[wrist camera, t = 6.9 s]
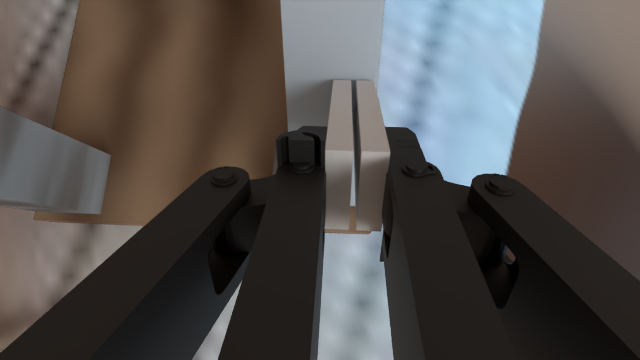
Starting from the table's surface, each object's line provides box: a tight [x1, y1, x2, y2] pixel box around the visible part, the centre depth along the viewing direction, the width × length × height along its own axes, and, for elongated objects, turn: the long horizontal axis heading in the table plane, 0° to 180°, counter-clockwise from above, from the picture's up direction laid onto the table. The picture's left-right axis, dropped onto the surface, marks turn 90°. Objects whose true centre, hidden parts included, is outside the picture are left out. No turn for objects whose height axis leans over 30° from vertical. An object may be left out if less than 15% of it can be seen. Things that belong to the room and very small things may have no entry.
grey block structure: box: [0, 0, 383, 234], centre depth 19 cm, size 23×22×16 cm
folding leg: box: [280, 0, 385, 206], centre depth 16 cm, size 4×4×14 cm
